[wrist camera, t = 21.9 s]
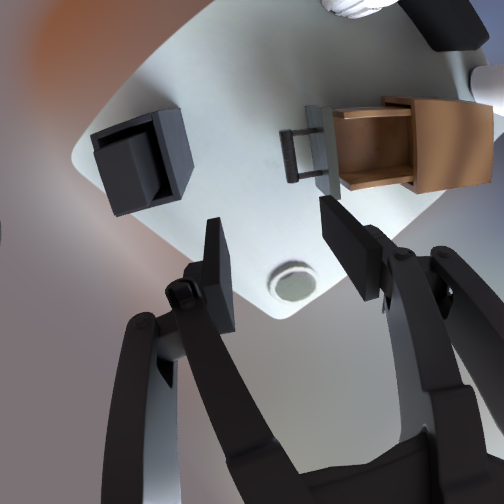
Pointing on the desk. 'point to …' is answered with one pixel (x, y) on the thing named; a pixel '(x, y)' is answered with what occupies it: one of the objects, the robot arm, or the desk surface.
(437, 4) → the electronic device
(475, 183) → the cabinet
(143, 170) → the block
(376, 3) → the flashlight
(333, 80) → the desk surface
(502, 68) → the cup
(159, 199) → the caddy
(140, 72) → the desk surface
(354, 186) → the drawer
